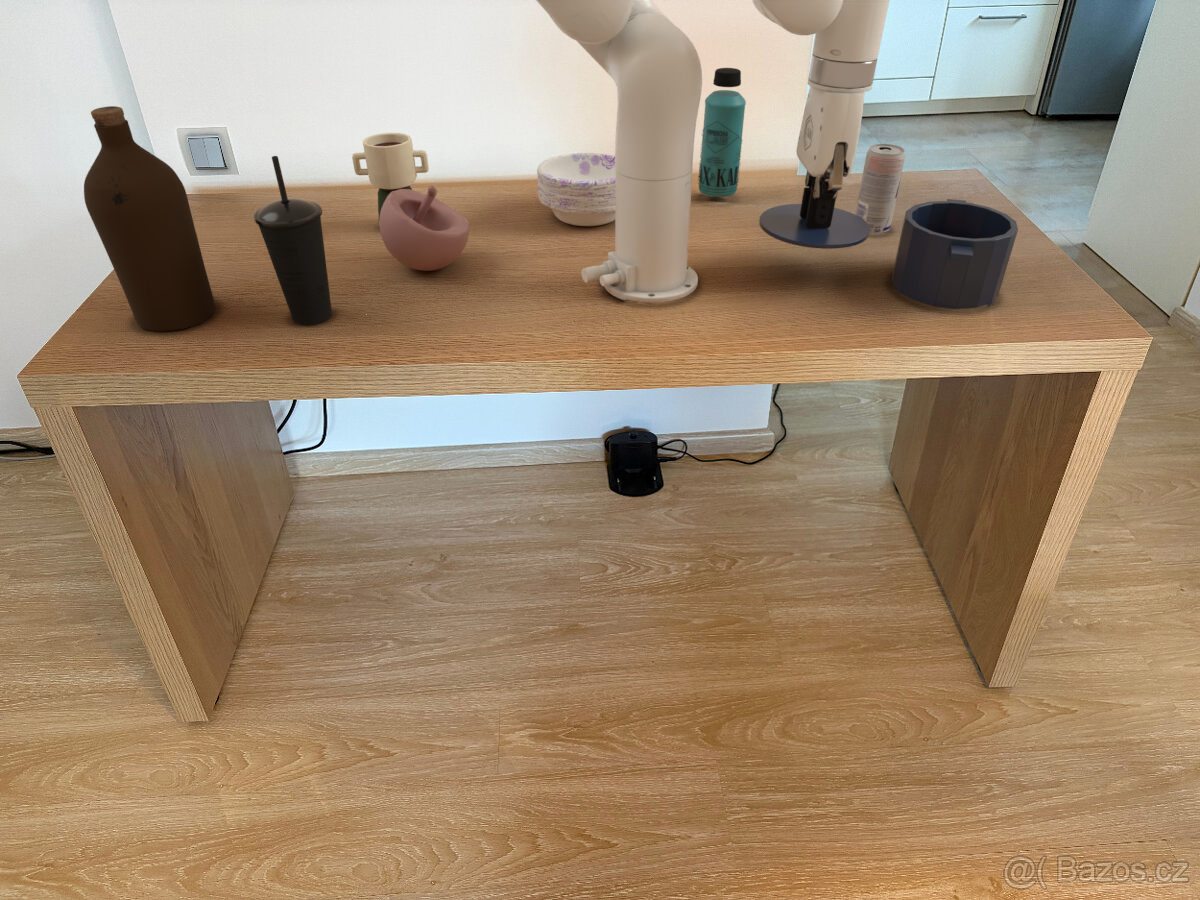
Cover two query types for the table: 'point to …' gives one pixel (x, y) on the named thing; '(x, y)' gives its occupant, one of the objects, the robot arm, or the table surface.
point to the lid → (793, 229)
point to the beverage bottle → (722, 136)
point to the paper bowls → (579, 188)
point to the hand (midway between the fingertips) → (814, 221)
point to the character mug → (390, 163)
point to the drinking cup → (297, 253)
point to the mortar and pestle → (422, 229)
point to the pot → (953, 254)
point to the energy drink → (880, 186)
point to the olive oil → (146, 229)
